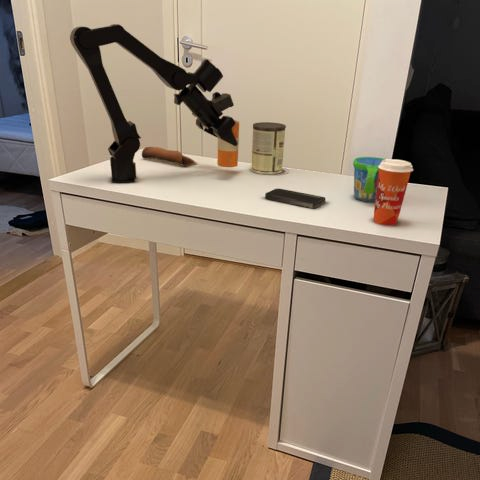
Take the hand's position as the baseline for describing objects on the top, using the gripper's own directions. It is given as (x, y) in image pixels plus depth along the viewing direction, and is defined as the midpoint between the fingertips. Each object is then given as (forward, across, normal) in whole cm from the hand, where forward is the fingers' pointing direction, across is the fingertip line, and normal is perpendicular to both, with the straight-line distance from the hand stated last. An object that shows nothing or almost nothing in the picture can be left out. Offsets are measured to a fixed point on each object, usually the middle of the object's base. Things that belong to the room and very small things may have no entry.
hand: (232, 143), depth 151 cm
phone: (+9, -34, +4) cm, 35 cm away
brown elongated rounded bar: (-4, +19, +17) cm, 26 cm away
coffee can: (+15, -2, -2) cm, 15 cm away
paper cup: (+18, -56, -5) cm, 59 cm away
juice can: (+4, 0, +6) cm, 7 cm away
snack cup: (+23, -38, -11) cm, 46 cm away
